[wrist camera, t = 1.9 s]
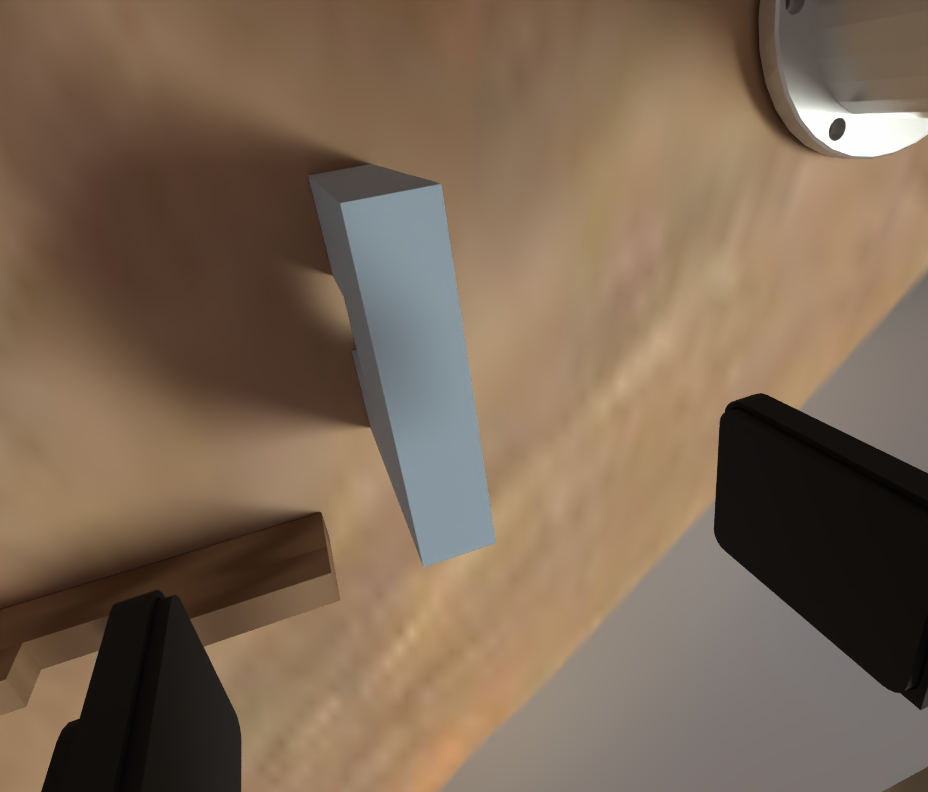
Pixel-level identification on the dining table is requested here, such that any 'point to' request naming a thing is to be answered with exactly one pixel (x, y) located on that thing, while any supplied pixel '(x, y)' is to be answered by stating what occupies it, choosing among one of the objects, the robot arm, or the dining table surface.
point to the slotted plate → (409, 349)
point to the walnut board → (190, 578)
